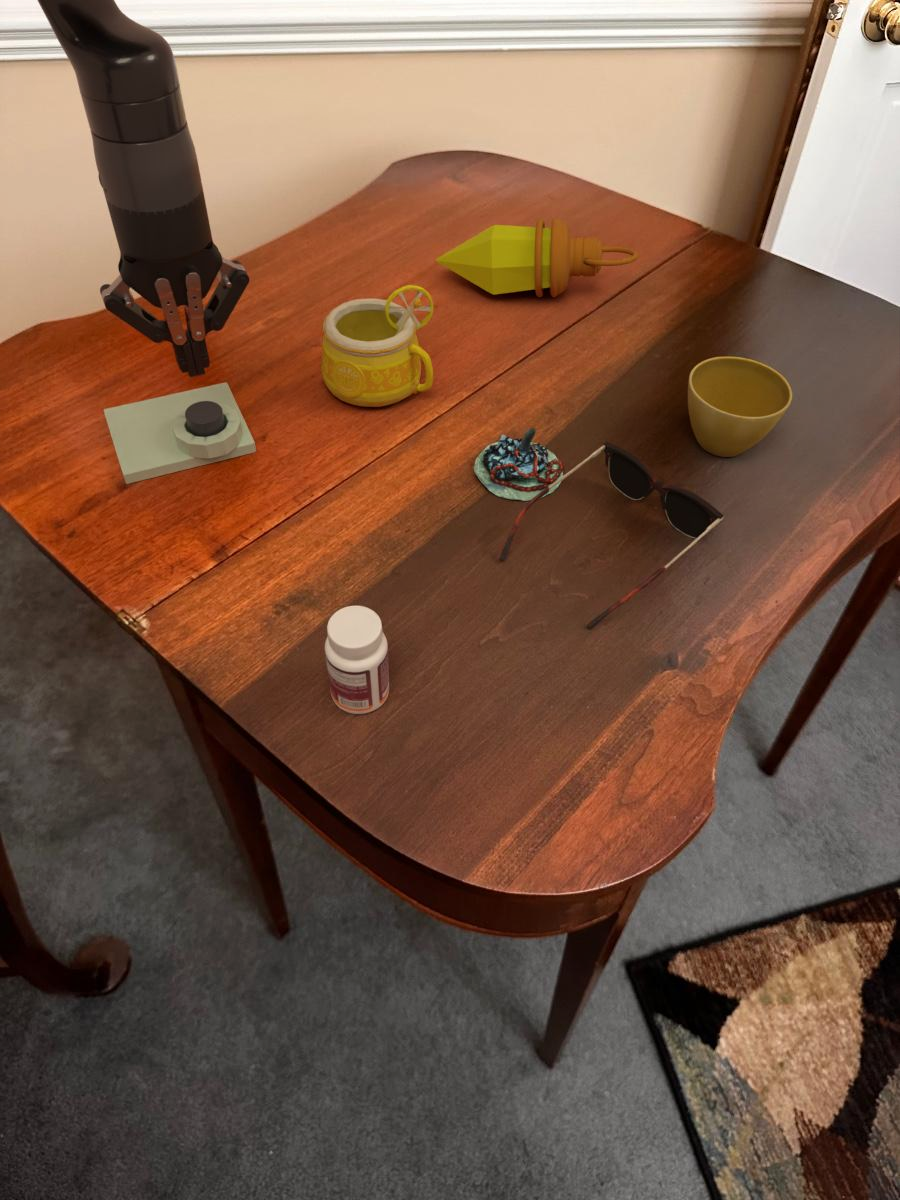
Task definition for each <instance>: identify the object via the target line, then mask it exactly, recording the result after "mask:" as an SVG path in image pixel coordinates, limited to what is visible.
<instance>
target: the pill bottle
mask: <svg viewBox="0 0 900 1200" xmlns="http://www.w3.org/2000/svg"><path fill="white" fill-rule="evenodd" d="M326 632H327V637H326V639H325V643H324V654H325V663H326V671H327V677H328V685H329V691H330V696H331V698H332V700H333V703H334V704H335V705H336V706H337V708H339V709H340V710H342V711H344V712H346V713H349V714H354V715H365V714H368V713H372V712H374V711H375V710H378V709H379V708H381V707H382V706H383V704H384V703H385V702H386V700H387V699H388V698H389V697H388V696H389V694H390V669H389V645H388V644H389V643H388V639H387V637H386V635H385V633H384V631H383V623H382V620H381V618H380V616H379V614H377V612H376V611H374V610H373V609H371V608H369V607H366V606H363V605H348V606H345V607H342V608H339V610H337V611H335V612H334V613H333V614H332V615H331V616H330V617H329V619H328V622H327V625H326Z"/></svg>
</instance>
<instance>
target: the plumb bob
mask: <svg viewBox="0 0 900 1200" xmlns="http://www.w3.org/2000/svg"><path fill="white" fill-rule="evenodd" d="M550 226H551V227H546V225H545V219H544V218H543V217H539V218H537V219H536V224H535V226H522V225H510V224H509V225H507V224H493V225H491V226H490V227H488V228H486V229H484V230H483V231H481V232H479V233H478V234H476V235H474V236H472V237H471V238H469V239H467V240H465V241H464V242H462V243H461V244H459V245H457V246H456V247H454V248H452V249H450V250H448V251H447V252H445V253H444V254H442V255H440V256H438V257H437V258H434V262H436V263H438V264H440V266H443V267H444V268H447V269H448V270H449V271H452V272H453V273H455V274H457V275H458V276H460V277H462V278H464V280H467V281H469V282H471V283H472V284H474V285H475V286H478V287H479V288H481V289H482V290H484V291H485V292H487V293H489V294H491V295H502V294H509V293H516V292H517V293H518V292H523V291H531V290H532V291H533V290H535V295H536V297H537V298H541V297H543V295H544V289H547V288H549V289H550V291H549V292H550V296H551V297H553V298H555V297H557V296H558V295H560V294H562V293H563V292H564V291H565V290H566V289H567V288H568V285H569V282H570V279H571V277H577V278H578V277H596V276H597V274H599V273H600V271H601V269H602V267H616V266H624V265H628V264H631V263H634V262H635V261H636V260H638V257H639V252H637V251H636V250H635V249H632V248H628V247H623V246H603V245H602V242H601V240H600V239H598V237H597V236H587V237H586V236H585V237H583V238H582V237H575V238H574V237H572V235H571V231H570V228H569V225H568V224H567V223H566V222H565V221H564V220H562V219H561V218H559V217H557V216H556V217H553V218H552V219H551V225H550ZM603 253H622V254H627V255H630V256H628V257H625V258H622V259H612V260H611V259H610V260H604V259H603Z"/></svg>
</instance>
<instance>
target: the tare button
mask: <svg viewBox="0 0 900 1200" xmlns="http://www.w3.org/2000/svg"><path fill="white" fill-rule="evenodd" d="M185 417H186V421H187V425H188V429H189V431H190V433H191V434H193V435H194V436H198V437H208V436H212V435H217V434H218V433H220V432H221V431H223V429H224V428H225V420H224V415H223V410H222V408H221V406H220V405H219V404H217V403H215V402H212V401H200V402H197V403H194V404H192V405H190V406H189V407H188V408H187V409H186V411H185Z"/></svg>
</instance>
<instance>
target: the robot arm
mask: <svg viewBox="0 0 900 1200" xmlns="http://www.w3.org/2000/svg"><path fill="white" fill-rule="evenodd" d="M37 3H38V4H39V6H40V8H41V10H42V12H43V14H44V15H45V17H46V19H47V21H48V24H49V25H50V27H51V29H52V31H53V33H54V35H55V37H56V39H57V42H58V43H59V45H60V46H61V49H62V50H63V52H64V53H65V56H66V57H67V59H68V61H69V63H70V65H71V66H72V69H73V71H74V73H75V77H76V82H77V85H78V89H79V93H80V97H81V101H82V104H83V108H84V112H85V116H86V119H87V123H88V127H89V129H90V134H91V140H92V147H93V154H94V159H95V160H94V161H95V165H96V169H97V172H98V181H99V184H100V186H101V188H102V191H103V194H104V197H105V202H106V205H107V209H108V212H109V215H110V220H111V224H112V227H113V230H114V235H115V237H116V241H117V245H118V249H119V254H120V255H119V256H120V257H119V260H118V264H117V266H118V267H117V269H118V272H119V274H118V276H117V277H116V278H115V279H114V280H113V282H112V283H111V284H109V283H105V284H102V285H101V286H100V288H99V293H100V296H101V299H102V301H103V304H104V307H105V309H106V310H107V311H108V312H109V313H111V314H113V315H114V316H115V317H117V318H119V319H120V320H122V321H123V322H124V323H126V324H127V325H129V326H130V327H132V328H133V329H135V330H136V331H138V332H139V333H140V334H142V335H143V336H144V337H146V338H148V339H149V340H150V341H152V342H153V343H155V344H161V343H162V342H168V343H170V344H171V345H172V349H173V353H174V357H175V362H176V364H177V366H178V368H179V371H181V373H182V374H185V373H187V375H188V377H189V378H195V377H199V376H203V375H206V371H205V369H208V368H210V366H211V365H210V364H211V361H210V360H211V359H210V356H209V350H208V345H207V342H206V337H207V335H208V334H209V333H210V332H213V331H214V332H219V331H221V330H223V328H224V326H225V325H226V324H227V321H228V320H229V318H230V316H231V315H232V313H233V311H234V309H235V308H236V306H237V304H238V302H239V301H240V299H241V297H242V296H243V294H244V292H245V290H246V288H247V287H248V285H249V284H250V276H249V275H248V273H247V270H246V268H245V266H243V263H242V262H241V261H239V260H236V259H235V260H228V259H227V258H225V257H223V256H222V253H221V252H220V250H219V248H218V247H217V245H216V244H215V243H214V240H213V234H212V229H211V223H210V219H209V214H208V209H207V204H206V198H205V194H204V193H205V191H204V188H203V187H204V186H203V181H202V177H201V176H202V175H201V171H200V166H199V160H198V155H197V151H196V147H195V144H194V140H193V137H192V135H191V132H190V129H189V123H188V121H187V117H186V111H185V106H184V99H183V95H182V89H181V84H180V78H179V72H178V68H177V67H178V66H177V63H176V58H175V56H174V55H175V54H174V53H173V49H172V47H171V46H170V44H169V43H168V41H167V40H166V39H165V38H164V36H162V35H161V34H160V33H159V32H157V31H155V30H154V29H153V30H152V29H151V28H149V27H146V26H144V25H143V24H140V23H139V22H136V21H135V20H133V19H131V18H130V17H128V16H127V15H126V14H125V13H124V12H123V11H122V10H121V9H120V7H119V6H118V3H116V0H37ZM216 278H217V279H218V281H219V282H218V284H217V285H216V287H215V289H214V290H213V293H212V294H211V296H210V298H209V300H208V302H207V303H206V305H205V307H204V304H203V303H204V302H203V300H204V299H205V298H206V296H207V295H208V294H209V291H210V290H211V288H212V286H213V284H214V281H215V280H216ZM130 289H132V290H133V291H134V292H135V293H137V294H138V295H139V296H140V297H141V298H142V299H144V300H145V301H147V302H148V303H149V304H151V306H154V307H155V308H157V309H161V312H162V315H163V318H164V320H161V319H158V318H157V317H156V316H155V315H153V314H152V313H151V312H149V311H148V310H146V308H144V307H142V306H141V305H139V304H138V303H137V302H136V301H135V298H134V296H133V292H132V291H131V290H130ZM180 306H183V313H184V318H185V319H184V320H185V324H186V325H185V326H186V330H185V328H184V325H183V322H182V318H181V314H180V312H179V307H180Z"/></svg>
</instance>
